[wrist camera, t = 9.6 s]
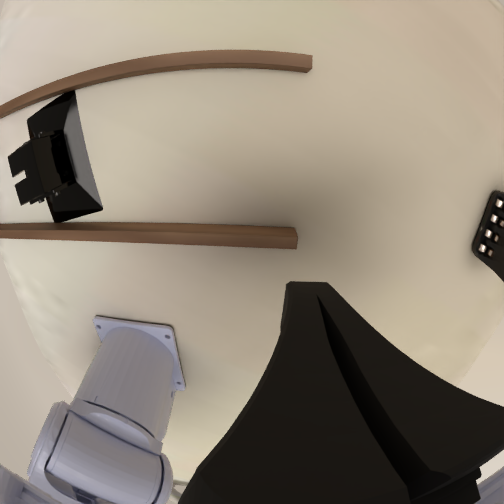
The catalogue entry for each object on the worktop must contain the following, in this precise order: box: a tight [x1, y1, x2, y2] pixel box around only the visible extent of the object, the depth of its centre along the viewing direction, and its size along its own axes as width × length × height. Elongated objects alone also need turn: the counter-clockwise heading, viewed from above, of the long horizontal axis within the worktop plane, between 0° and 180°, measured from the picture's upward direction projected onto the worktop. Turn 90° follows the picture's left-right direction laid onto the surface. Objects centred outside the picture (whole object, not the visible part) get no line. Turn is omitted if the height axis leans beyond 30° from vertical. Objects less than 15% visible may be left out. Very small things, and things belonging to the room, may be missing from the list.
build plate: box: [8, 90, 103, 223], centre depth 14 cm, size 12×7×5 cm, turn 10°
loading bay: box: [0, 50, 312, 249], centre depth 13 cm, size 12×29×5 cm, turn 88°
